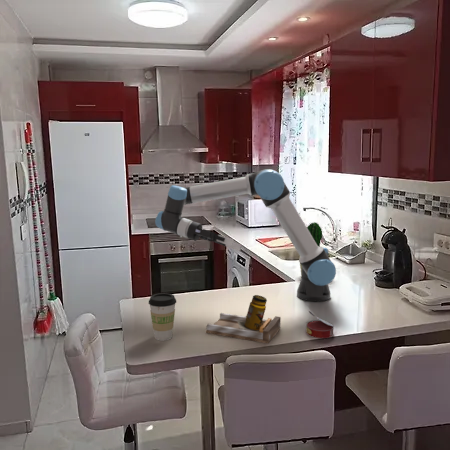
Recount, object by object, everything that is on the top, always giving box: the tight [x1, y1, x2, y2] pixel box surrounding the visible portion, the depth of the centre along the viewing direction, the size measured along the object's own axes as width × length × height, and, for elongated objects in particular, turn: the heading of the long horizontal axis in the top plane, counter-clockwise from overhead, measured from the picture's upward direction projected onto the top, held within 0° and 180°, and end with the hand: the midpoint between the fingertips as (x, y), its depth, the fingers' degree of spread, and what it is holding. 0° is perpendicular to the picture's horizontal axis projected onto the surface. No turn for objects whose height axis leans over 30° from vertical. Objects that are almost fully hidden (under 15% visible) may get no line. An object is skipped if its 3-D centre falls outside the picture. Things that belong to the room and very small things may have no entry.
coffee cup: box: [148, 292, 177, 341], centre depth 160 cm, size 10×10×15 cm
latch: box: [260, 317, 273, 333], centre depth 163 cm, size 1×10×3 cm, turn 157°
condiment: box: [238, 294, 268, 332], centre depth 165 cm, size 7×8×12 cm
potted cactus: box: [298, 221, 323, 272], centre depth 235 cm, size 15×15×30 cm
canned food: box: [305, 310, 335, 339], centre depth 165 cm, size 11×10×10 cm
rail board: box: [205, 312, 282, 344], centre depth 167 cm, size 24×15×4 cm, turn 67°
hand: (236, 245), depth 180 cm, fingers open, 13 cm apart
